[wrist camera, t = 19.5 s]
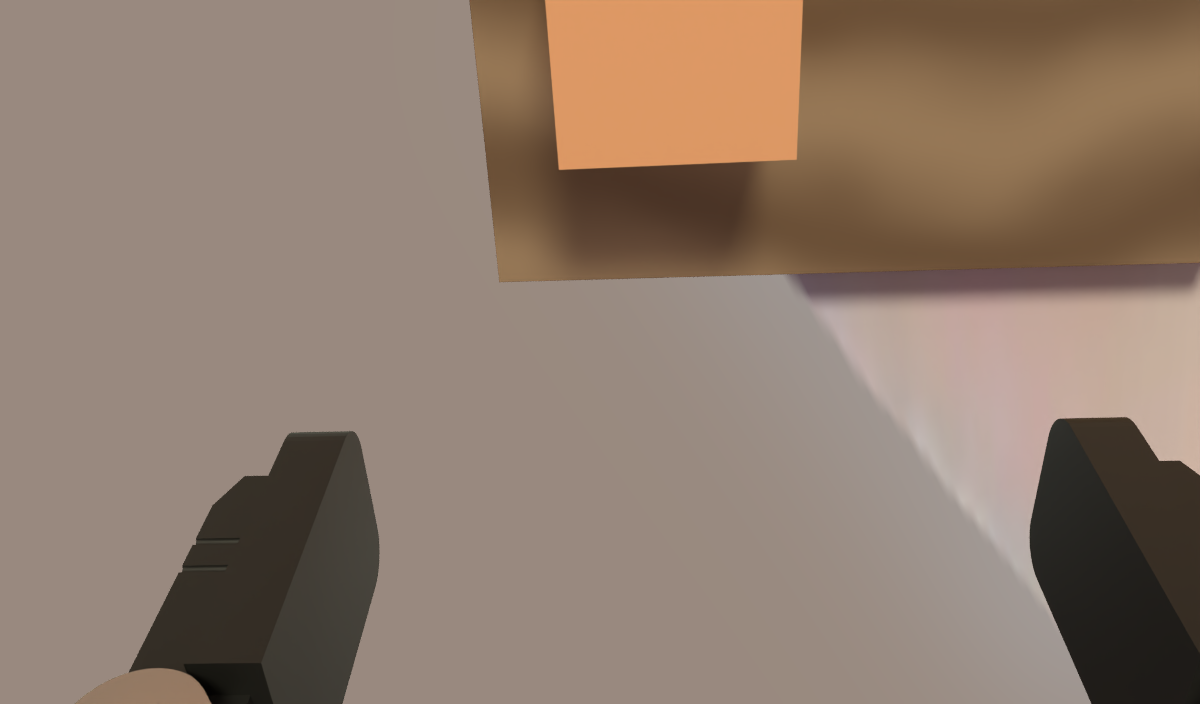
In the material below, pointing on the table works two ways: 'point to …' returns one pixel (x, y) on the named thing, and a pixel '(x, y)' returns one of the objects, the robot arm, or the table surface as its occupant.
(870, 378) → the table surface
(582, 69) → the orange cube
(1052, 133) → the base plate
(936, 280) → the table surface
